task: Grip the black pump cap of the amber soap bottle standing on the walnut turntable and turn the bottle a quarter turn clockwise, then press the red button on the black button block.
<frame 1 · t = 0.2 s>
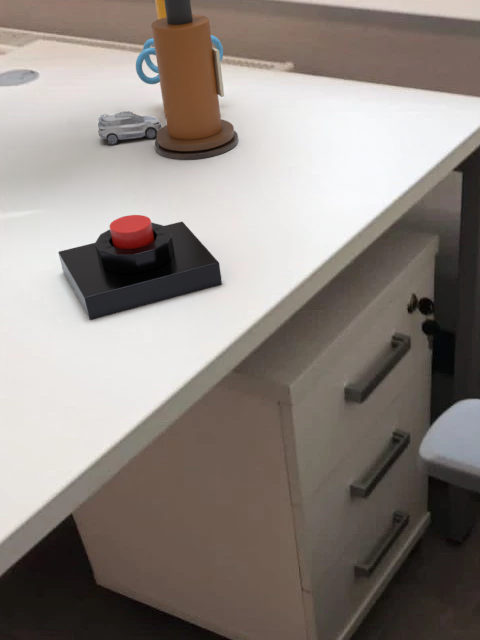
soap bottle: (184, 52, 100), point 10 cm above the table, hinge at 0.0°
button block: (141, 279, 80), on the table
turntable base: (196, 144, 106), on the table
button: (132, 232, 77), point 4 cm above the table, slide at 0.1 cm
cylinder: (188, 113, 116), on the table
toy car: (132, 138, 110), on the table
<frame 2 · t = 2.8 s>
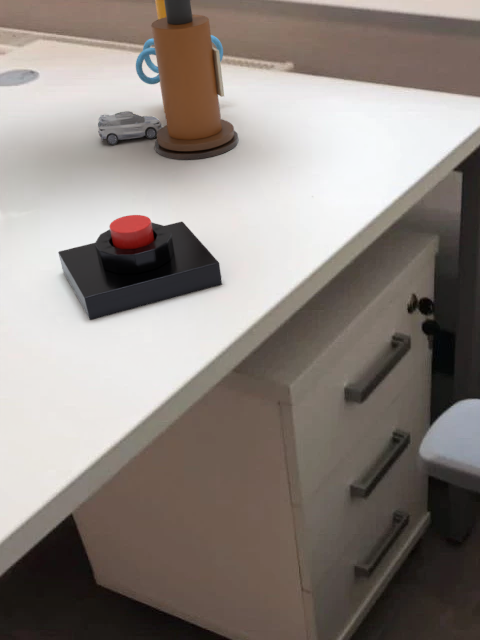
soap bottle: (184, 52, 100), point 10 cm above the table, hinge at 0.0°, touching gripper
everything else where it was.
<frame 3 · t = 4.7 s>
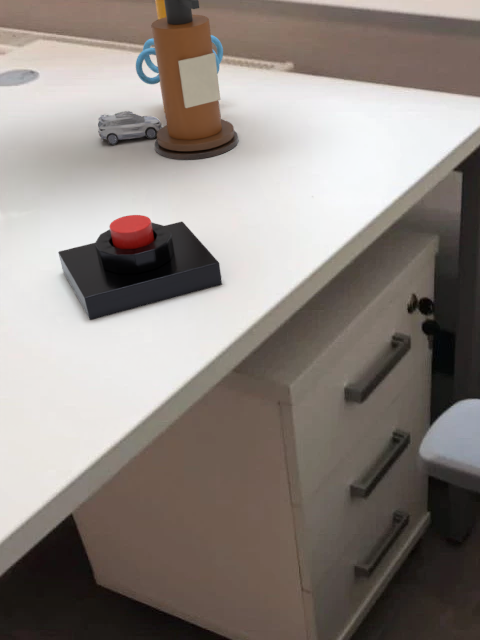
soap bottle: (184, 52, 100), point 10 cm above the table, hinge at -83.2°, touching gripper
everything else where it was.
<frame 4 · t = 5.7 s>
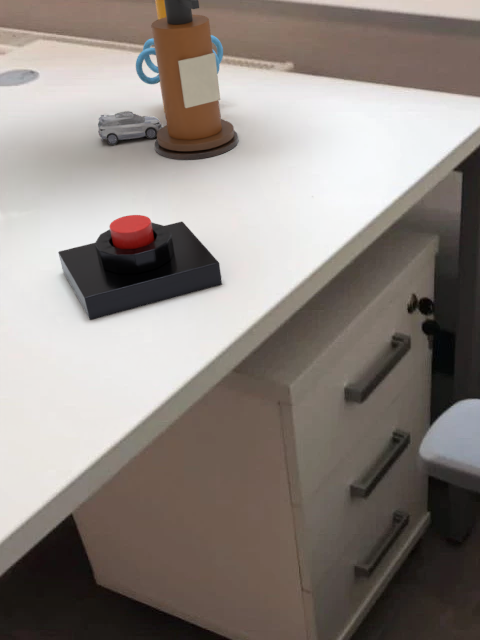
soap bottle: (184, 52, 100), point 10 cm above the table, hinge at -83.3°
everything else where it was.
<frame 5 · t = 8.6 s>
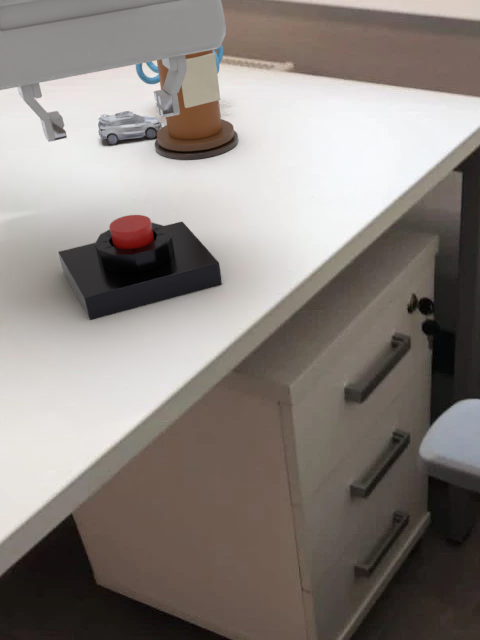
hand: (113, 126, 71), 14 cm above the table, tool pointing down, fingers open, 8 cm apart
nothing on the table moved.
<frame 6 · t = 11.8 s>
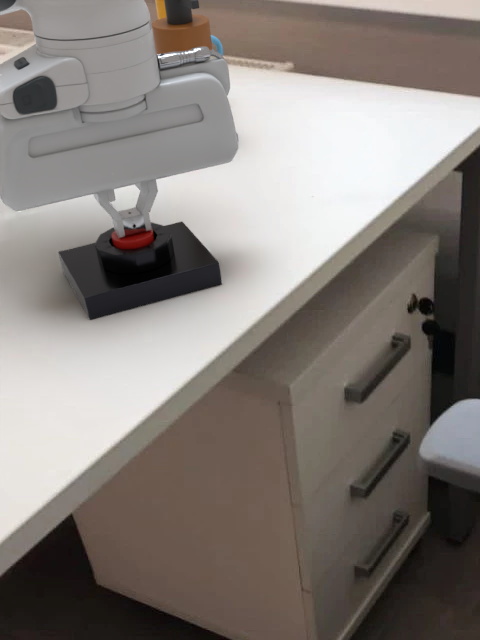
hand: (133, 232, 77), 5 cm above the table, tool pointing down, fingers closed, pressing on button
button: (133, 241, 78), point 4 cm above the table, slide at -0.7 cm, touching gripper
everything else where it was.
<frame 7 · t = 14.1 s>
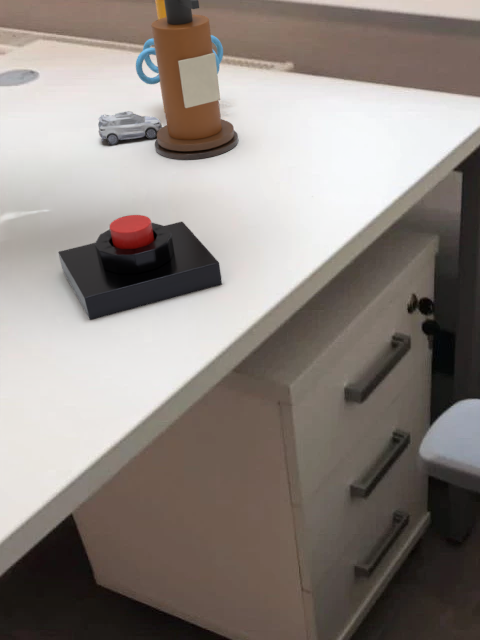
button: (132, 232, 77), point 4 cm above the table, slide at 0.1 cm
everything else where it was.
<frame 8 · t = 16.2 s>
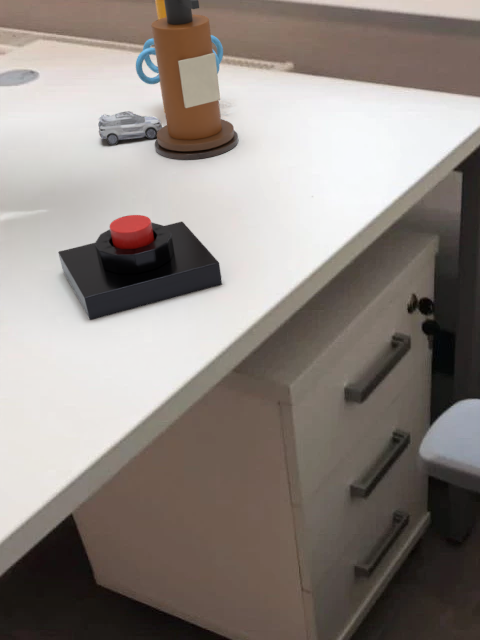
nothing on the table moved.
at the end: soap bottle at -83° (first picture: +0°); button pushed in 1.1 cm at the most during the clip, back to where it started at the end; button slide at 0.1 cm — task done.
